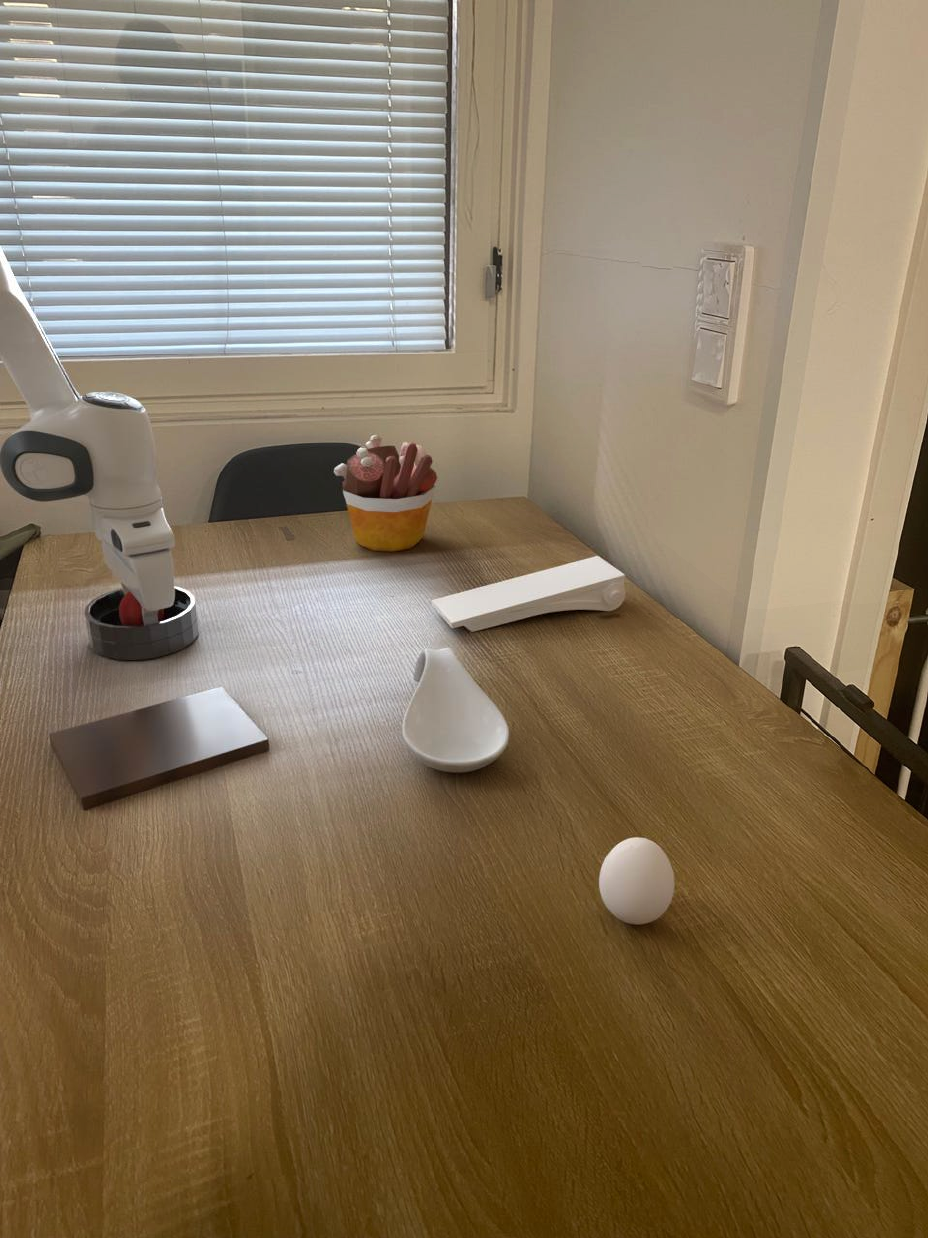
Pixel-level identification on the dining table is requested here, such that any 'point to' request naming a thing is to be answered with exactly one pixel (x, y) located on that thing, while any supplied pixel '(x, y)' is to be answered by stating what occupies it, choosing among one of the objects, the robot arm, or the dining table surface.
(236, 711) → the board
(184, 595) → the pan
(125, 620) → the onion
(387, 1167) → the dining table surface
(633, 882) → the egg
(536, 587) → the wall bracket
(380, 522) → the bucket of meat
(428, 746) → the spoon rest
